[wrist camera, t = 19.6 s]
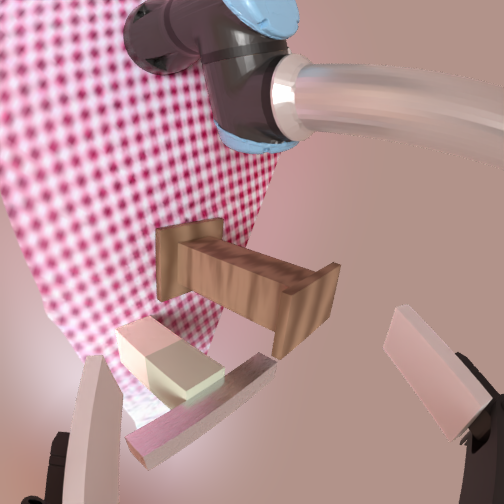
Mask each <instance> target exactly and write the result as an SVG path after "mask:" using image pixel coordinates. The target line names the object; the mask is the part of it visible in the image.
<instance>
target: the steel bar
mask: <svg viewBox="0 0 504 504" xmlns="http://www.w3.org/2000/svg"><path fill="white" fill-rule="evenodd" d="M276 367H277V361H275V360H272V359H271V358H269V357H267V356H265V355H263V354H261V353H259V352H258V353H257V354H256V355H254V356H253V357H251V358H250V359H249V360H247V361H246V362H244V363H243V364H241V365H240V366H239V367H237V368H236V369H234V370H233V371H231V372H230V373H228V374H227V375H225V376H224V377H222V378H221V379H219V380H218V381H216V382H215V383H213V384H212V385H210V386H209V387H207V388H206V389H204V390H203V391H201V392H199V393H198V394H196V395H195V396H193V397H192V398H190V399H188V400H187V401H185V402H184V403H182V404H180V405H179V406H177V407H175V408H174V409H172V410H170V411H169V412H167V413H165V414H164V415H162V416H160V417H159V418H157V419H155V420H154V421H152V422H150V423H148V424H147V425H145V426H143V427H141V428H140V429H138V430H136V431H134V432H132V433H131V434H129V435H127V436H125V440H126V442H127V445H128V447H129V450H130V452H131V453H132V454H133V455H134V457H135V458H136V459H137V460H138V461H139V462H140V463H141V464H142V465H143V466H144V467H145V468H146V469H147V470H148V471H149V470H151V469H153V468H154V467H156V466H157V465H159V464H160V463H162V462H164V461H165V460H167V459H168V458H170V457H171V456H173V455H174V454H176V453H177V452H179V451H180V450H182V449H183V448H185V447H186V446H188V445H189V444H191V443H192V442H193V441H195V440H196V439H198V438H199V437H200V436H202V435H203V434H205V433H206V432H207V431H209V430H210V429H211V428H213V427H214V426H216V425H217V424H218V423H219V422H221V421H222V420H223V419H225V418H226V417H227V416H229V415H230V414H231V413H233V412H234V411H235V410H237V409H238V408H239V407H240V406H241V405H243V404H244V403H245V402H247V401H248V400H249V399H250V398H252V396H254V395H255V394H256V393H258V392H259V391H260V390H261V389H262V388H263V387H265V386H266V385H267V384H268V383H269V382H271V381H272V380H273V379H274V377H275V372H276Z"/></svg>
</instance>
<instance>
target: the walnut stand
mask: <svg viewBox="0 0 504 504" xmlns="http://www.w3.org/2000/svg"><path fill="white" fill-rule="evenodd" d="M223 220H224V219H222V218H213V219H207V220H201V221H195V222H190V223H184V224H178V225H173V226H167V227H162V228H156V283H157V299H158V300H159V301H161V302H164V301H166V300H169V299H172V298H174V297H177V296H180V295H182V294H185V293H188V292H190V291H194V292H196V293H198V294H200V295H202V296H204V297H206V298H208V299H210V300H211V301H213V302H215V303H217V304H219V305H221V306H223V307H225V308H227V309H229V310H231V311H233V312H235V313H237V314H239V315H241V316H243V317H245V318H247V319H249V320H251V321H253V322H255V323H257V324H259V325H261V326H263V327H265V328H268V329H270V330H272V331H274V332H275V337H274V343H273V349H272V356H273V357H275V358H277V359H279V360H281V359H282V358H283V357H284V356H286V355H287V354H288V353H289V352H291V351H292V350H293V349H294V348H295V347H296V346H297V345H299V344H300V343H301V342H302V341H303V340H304V339H306V338H307V337H308V336H309V335H310V334H311V333H312V332H314V331H315V330H316V329H317V328H318V327H319V326H320V325H321V324H322V323H324V322H325V321H326V320H327V319H328V318H329V317H330V312H331V308H332V304H333V300H334V295H335V291H336V286H337V282H338V277H339V272H340V267H341V265H340V264H337V263H334V262H333V263H331V264H329V265H327V266H326V267H324V268H322V269H320V270H319V271H317V272H314V271H311V270H309V269H306V268H303V267H300V266H297V265H294V264H291V263H288V262H285V261H282V260H279V259H276V258H273V257H270V256H267V255H264V254H261V253H258V252H255V251H252V250H249V249H246V248H243V247H240V246H237V245H235V244H232V243H229V242H226V241H223V240H222V234H223Z"/></svg>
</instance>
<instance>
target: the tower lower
mask: <svg viewBox="0 0 504 504" xmlns="http://www.w3.org/2000/svg"><path fill="white" fill-rule="evenodd" d="M115 332H116V338H117V344H118V349H119V354H120V360H121V363H122V364H123V365H124V366H125V367H126V368H127V369H128V370H129V371H130V372H131V373H132V374H133V375H134V376H135V377H136V378H137V379H138V380H139V381H140V382H141V383H142V384H143V385H144V386H145V387H146V388H148V389H149V390H150V387H149V381H148V375H147V369H146V362H145V357H146V356H148V355H150V354H152V353H154V352H156V351H158V350H161V349H163V348H165V347H167V346H169V345H171V344H173V343H175V342H177V341H179V340H181V339H182V338H180V337H179V336H177V335H176V334H174V333H173V332H172V331H170V330H169V329H167V328H166V327H165V326H163V325H162V324H161V323H159V322H158V321H156V320H155V319H154V318H152V317H151V316H147V317H144V318H142V319H139V320H137V321H134V322H131V323H129V324H126V325H124V326H121V327H118V328H116V329H115Z"/></svg>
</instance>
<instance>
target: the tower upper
mask: <svg viewBox="0 0 504 504" xmlns="http://www.w3.org/2000/svg"><path fill="white" fill-rule="evenodd" d="M145 362H146V369H147V375H148V381H149V387H150V391H151V392H152V393H153V394H154V395H155V396H156V397H157V398H158V399H159V400H161V401H162V402H163V403H164V404H165V405H166V406H167V407H168V408H170V409H171V410H172V409H174V408H175V407H177V406H179V405H180V404H182V403H184V402H185V401H187V400H188V399H190V398H192V397H193V396H195V395H196V394H198V393H199V392H201V391H203V390H204V389H206V388H207V387H209V386H210V385H212V384H213V383H215V382H216V381H218V380H219V379H221V378H222V377H224V375H225V367H224V366H222V365H221V364H219V363H217V362H216V361H214V360H213V359H211V358H210V357H208V356H207V355H205V354H204V353H202V352H201V351H199V350H198V349H196V348H195V347H193V346H192V345H190V344H189V343H187V342H186V341H185V340H183V339H181V340H179V341H177V342H175V343H173V344H171V345H169V346H167V347H165V348H163V349H161V350H158V351H156V352H154V353H152V354H150V355H148V356H146V357H145Z"/></svg>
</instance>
